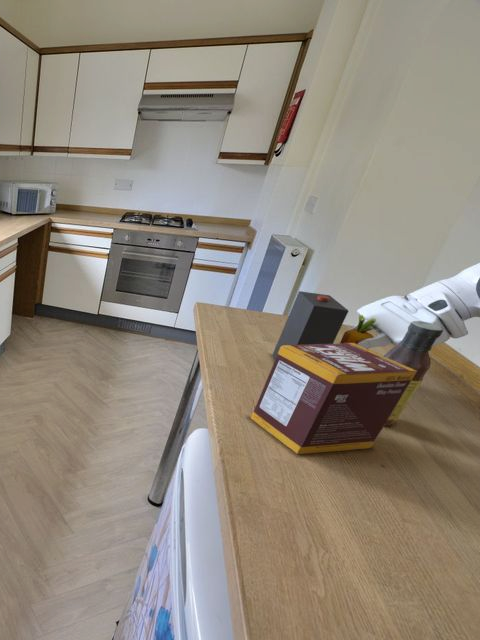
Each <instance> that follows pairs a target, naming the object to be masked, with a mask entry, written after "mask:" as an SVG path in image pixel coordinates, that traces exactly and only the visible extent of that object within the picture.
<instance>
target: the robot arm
mask: <svg viewBox="0 0 480 640" xmlns="http://www.w3.org/2000/svg"><path fill="white" fill-rule="evenodd" d="M356 313H357V315H358V317H359V316H360V315H363V318H364V319H365V321H364V322H363V324H362V326H363V325H364V324H365V323H366V322H367V321H369V320H370V319H372V318H375V319H376V322H374V323H373V324H371V325H370V326H368V328H369V327H372V328H374V329H373V331H375V332H376V333H378V334H377V335H376V336H373V337H374V338H369V339H365V338H363V339H361V340H359V341H356V344H357V345H359V346H361V347H364V348H366V349H368V348H369V349H371V348H377V347H385V346H387V345H390V344H391V345H392V346H394V347H395V346H396V345H398V344H399V343H400V342H401V341H402V340H403V338H404V336H405V334H406V333H407V331H408V326H409V325H410V324H411V322H412V321H423V322H429V323H432V324H435V325H438V326H440V327H442V328H443V329H444V330H443V332H442V334H441V335H440V336H439V337H438V338H437V339H436V340H435V342H434V344H433V345H432V347H431V348H433V347H436V346H439V345H442V344H444V343H446V342H447V341H449V340H450V339H451V338H452V339H461V338H463V337H466V336H468V335H469V330H468V328H467V326H466V324H465V321H467V320H469V319H472V318H480V262H478V263H476V264H474V265H471V266H469V267H466V268H464V269H463V270H462V271H461V270H460V272H459V273H457V274H456V275H454V276H451V277H448V278H445V279H440V280H436V281H435V282H433V283H430V284H428V285H426V286H423V287H420V288H419V289H416V290H414V291H412V292H410V293H408V294H406V295H390V296H386V297H383V298H381V299H378V300H376V301H373V302H370V303H367V304H365V305H363V306H361V307H359V308H358V309H357V310H356ZM358 323H359V322H357V323H356V324H355V325H354V326H353V327H351V328H349V329H346V330H345V331H344V333H345V332H346V331H348V330H351V329H357V328H358ZM344 333H343V334H344ZM369 349H368V350H369Z"/></svg>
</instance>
